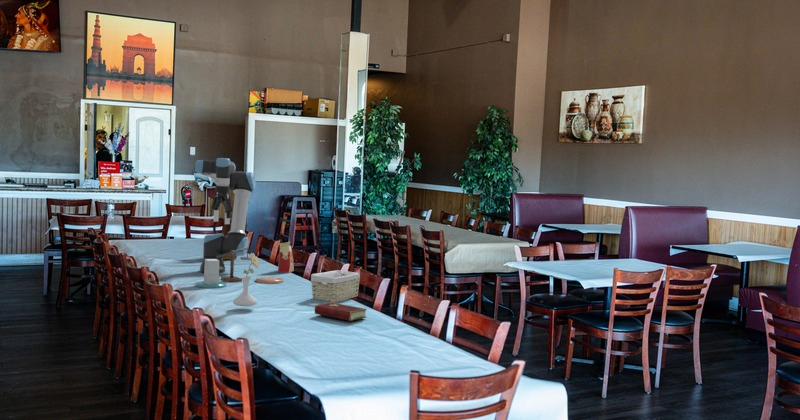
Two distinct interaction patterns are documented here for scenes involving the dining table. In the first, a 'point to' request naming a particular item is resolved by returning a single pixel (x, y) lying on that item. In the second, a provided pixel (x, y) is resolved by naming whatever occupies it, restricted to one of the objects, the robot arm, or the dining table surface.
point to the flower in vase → (245, 296)
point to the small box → (211, 272)
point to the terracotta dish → (269, 280)
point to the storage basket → (335, 285)
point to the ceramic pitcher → (225, 231)
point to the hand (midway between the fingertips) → (221, 222)
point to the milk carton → (285, 258)
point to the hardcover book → (340, 311)
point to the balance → (231, 277)
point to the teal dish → (204, 285)
